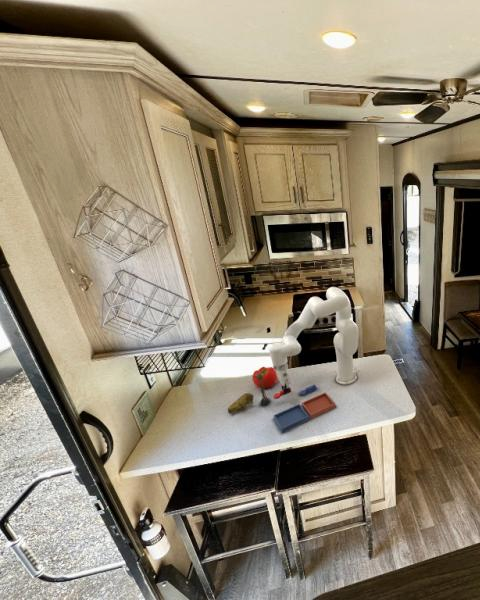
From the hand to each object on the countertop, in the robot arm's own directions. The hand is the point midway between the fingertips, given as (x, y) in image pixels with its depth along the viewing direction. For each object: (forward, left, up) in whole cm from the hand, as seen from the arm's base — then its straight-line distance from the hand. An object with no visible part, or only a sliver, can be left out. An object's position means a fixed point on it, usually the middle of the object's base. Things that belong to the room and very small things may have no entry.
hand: (286, 392), depth 183 cm
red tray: (-11, +16, -6) cm, 20 cm away
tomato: (+5, -22, -6) cm, 23 cm away
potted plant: (+11, -6, -6) cm, 14 cm away
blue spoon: (-12, 0, -6) cm, 13 cm away
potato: (+22, -9, -6) cm, 25 cm away
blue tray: (+4, +16, -6) cm, 17 cm away
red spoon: (+3, 0, -1) cm, 3 cm away
